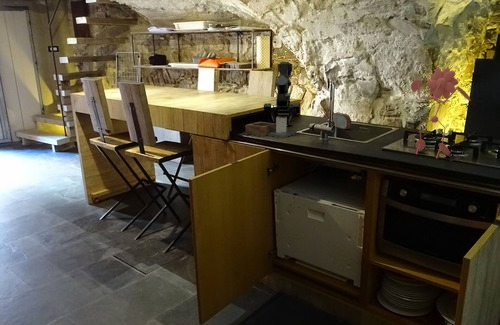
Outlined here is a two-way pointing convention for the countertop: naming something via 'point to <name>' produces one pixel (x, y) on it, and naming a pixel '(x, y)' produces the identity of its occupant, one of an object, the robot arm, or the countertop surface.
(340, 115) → the tin
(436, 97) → the figurine
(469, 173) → the countertop surface
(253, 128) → the brown square tray
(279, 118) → the steel peg
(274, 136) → the rubber pad
